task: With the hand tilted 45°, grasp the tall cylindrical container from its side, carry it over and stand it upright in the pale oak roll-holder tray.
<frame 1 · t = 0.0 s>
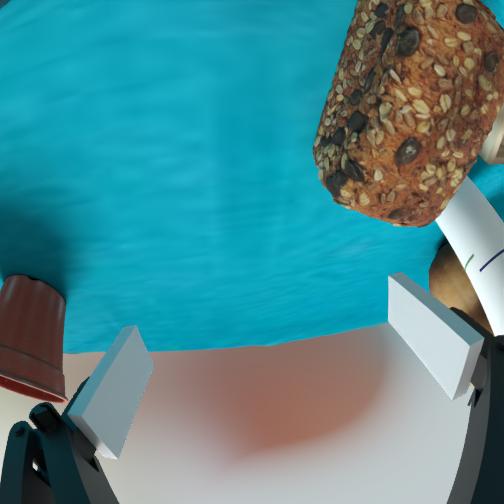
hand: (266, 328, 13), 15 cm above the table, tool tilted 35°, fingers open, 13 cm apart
butternut squash: (446, 245, 40), on the table
bread: (383, 74, 18), on the table
cylindrical container: (441, 184, 28), on the table
flower pot: (34, 293, 34), on the table
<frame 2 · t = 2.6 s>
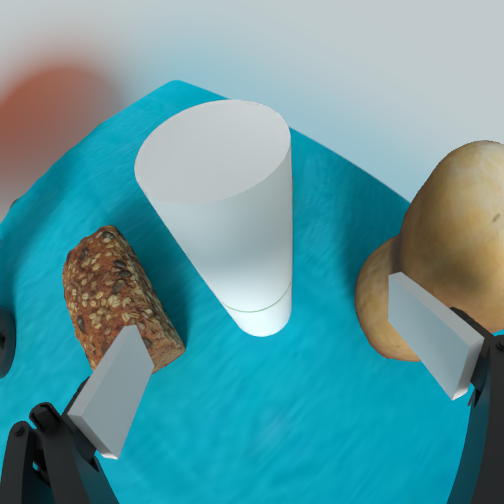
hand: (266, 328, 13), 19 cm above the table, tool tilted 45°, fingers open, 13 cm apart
butternut squash: (396, 314, 31), on the table
bread: (132, 314, 35), on the table
cylindrical container: (262, 308, 34), on the table
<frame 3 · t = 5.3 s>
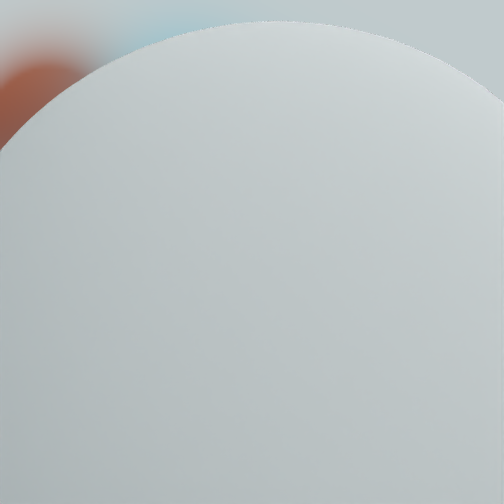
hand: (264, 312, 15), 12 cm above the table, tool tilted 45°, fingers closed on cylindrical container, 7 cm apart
cylindrical container: (281, 381, 23), on the table, touching gripper
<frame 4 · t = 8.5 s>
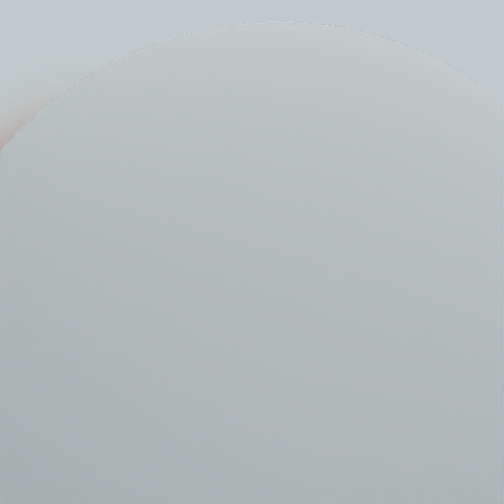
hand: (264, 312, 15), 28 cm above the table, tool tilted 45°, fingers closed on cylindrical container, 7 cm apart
cylindrical container: (281, 381, 23), point 17 cm above the table, touching gripper
when the fingers open (14 cm above the table, at t = 11.6 s): cylindrical container drops 1 cm, resting on holder tray.
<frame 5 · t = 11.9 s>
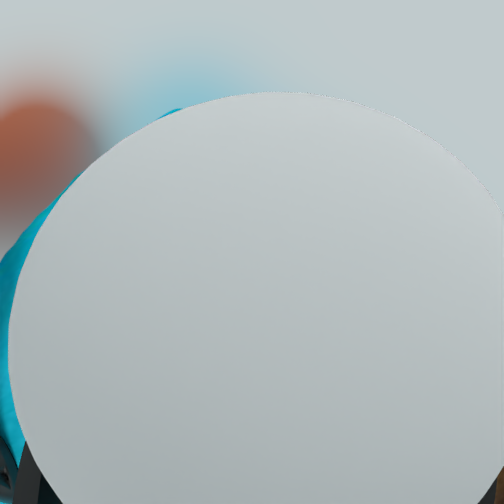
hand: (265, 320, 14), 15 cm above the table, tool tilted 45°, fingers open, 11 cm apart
butternut squash: (461, 488, 15), on the table
cylindrical container: (281, 382, 25), point 1 cm above the table, touching holder tray
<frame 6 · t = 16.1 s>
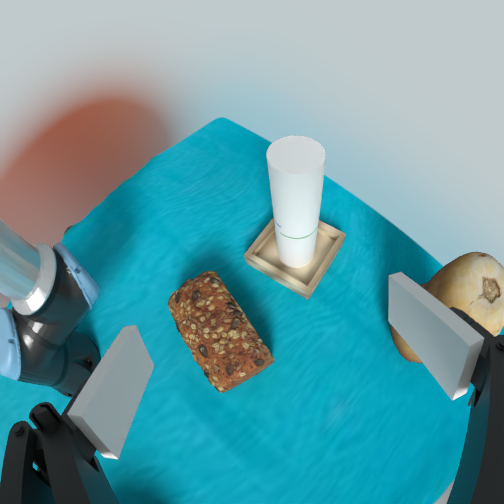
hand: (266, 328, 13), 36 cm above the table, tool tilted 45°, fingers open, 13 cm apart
holder tray: (296, 253, 55), on the table
butternut squash: (413, 332, 44), on the table
bread: (224, 336, 49), on the table
cylindrical container: (295, 251, 54), point 1 cm above the table, touching holder tray
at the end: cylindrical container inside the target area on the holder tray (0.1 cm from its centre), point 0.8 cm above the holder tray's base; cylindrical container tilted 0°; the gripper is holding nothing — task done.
